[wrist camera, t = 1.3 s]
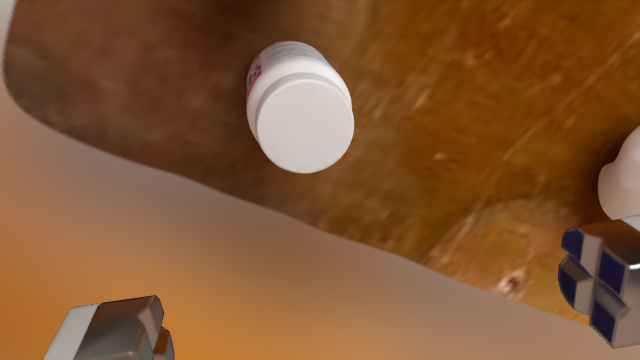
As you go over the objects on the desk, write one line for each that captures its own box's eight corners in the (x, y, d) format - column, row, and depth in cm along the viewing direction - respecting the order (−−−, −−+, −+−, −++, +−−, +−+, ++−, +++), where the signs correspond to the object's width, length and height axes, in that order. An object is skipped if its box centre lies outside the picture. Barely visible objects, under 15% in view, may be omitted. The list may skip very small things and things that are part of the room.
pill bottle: (238, 46, 26) (235, 78, 18) (325, 32, 26) (358, 58, 18) (255, 130, 28) (259, 191, 20) (335, 116, 28) (370, 171, 20)
